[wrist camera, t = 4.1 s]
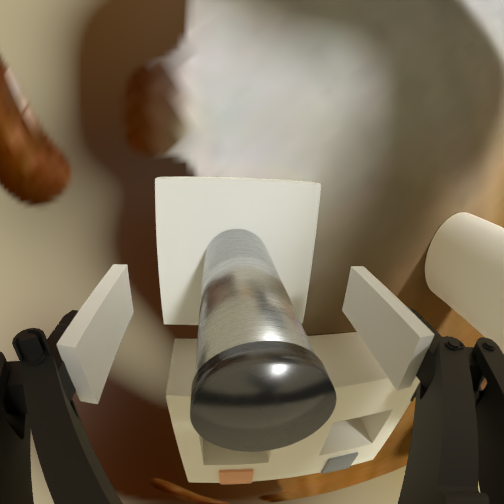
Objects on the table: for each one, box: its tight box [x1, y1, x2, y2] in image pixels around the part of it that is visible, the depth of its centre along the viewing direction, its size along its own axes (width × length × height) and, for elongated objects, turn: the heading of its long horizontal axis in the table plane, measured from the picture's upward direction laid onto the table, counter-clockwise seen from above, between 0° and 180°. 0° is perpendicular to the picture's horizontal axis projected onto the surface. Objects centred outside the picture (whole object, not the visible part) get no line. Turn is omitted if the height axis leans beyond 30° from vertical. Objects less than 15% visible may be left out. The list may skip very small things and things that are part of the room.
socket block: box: [166, 332, 420, 484], centre depth 22 cm, size 14×19×6 cm
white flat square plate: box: [155, 177, 321, 325], centre depth 19 cm, size 10×10×1 cm
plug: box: [190, 229, 337, 452], centre depth 13 cm, size 4×4×12 cm
